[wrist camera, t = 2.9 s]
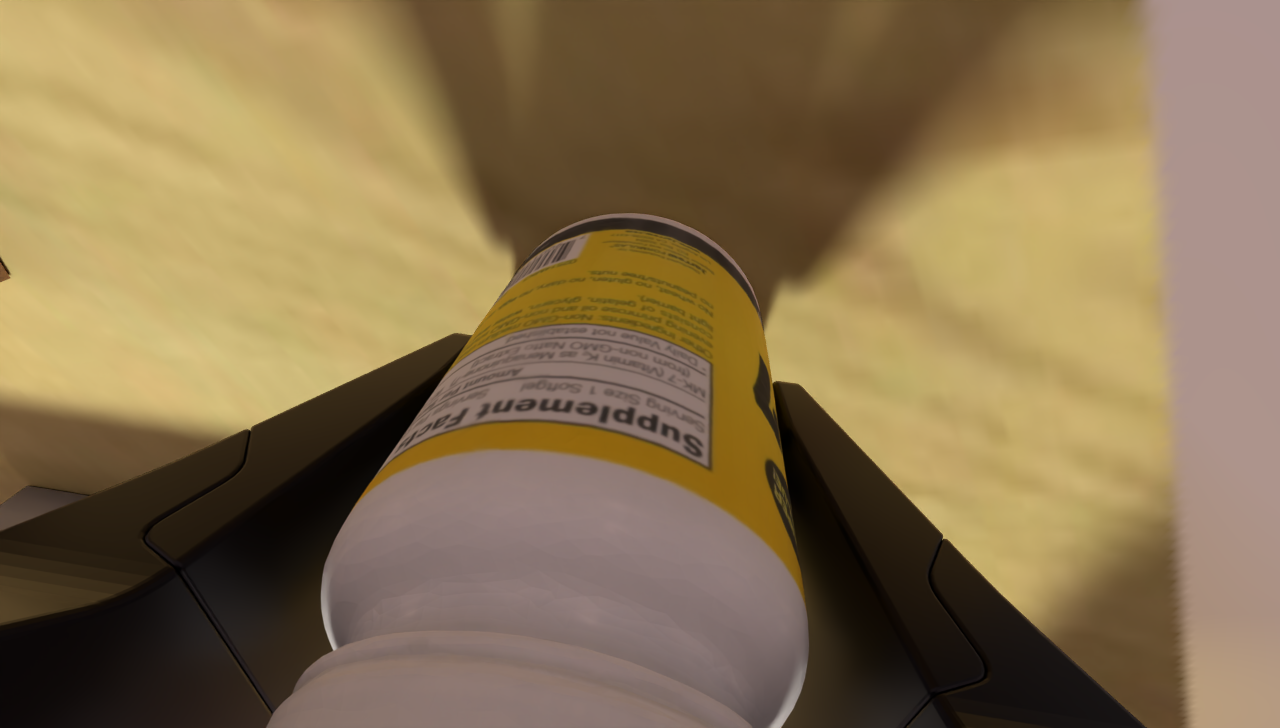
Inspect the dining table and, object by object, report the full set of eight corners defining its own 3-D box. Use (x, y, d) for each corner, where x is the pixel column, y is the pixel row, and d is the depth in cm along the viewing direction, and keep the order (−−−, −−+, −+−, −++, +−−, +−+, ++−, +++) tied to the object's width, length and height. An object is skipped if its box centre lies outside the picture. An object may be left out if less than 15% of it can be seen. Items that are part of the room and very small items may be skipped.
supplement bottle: (732, 440, 12) (758, 1102, 5) (515, 405, 12) (233, 998, 5) (795, 226, 9) (1080, 1074, 2) (509, 182, 9) (-169, 838, 2)
